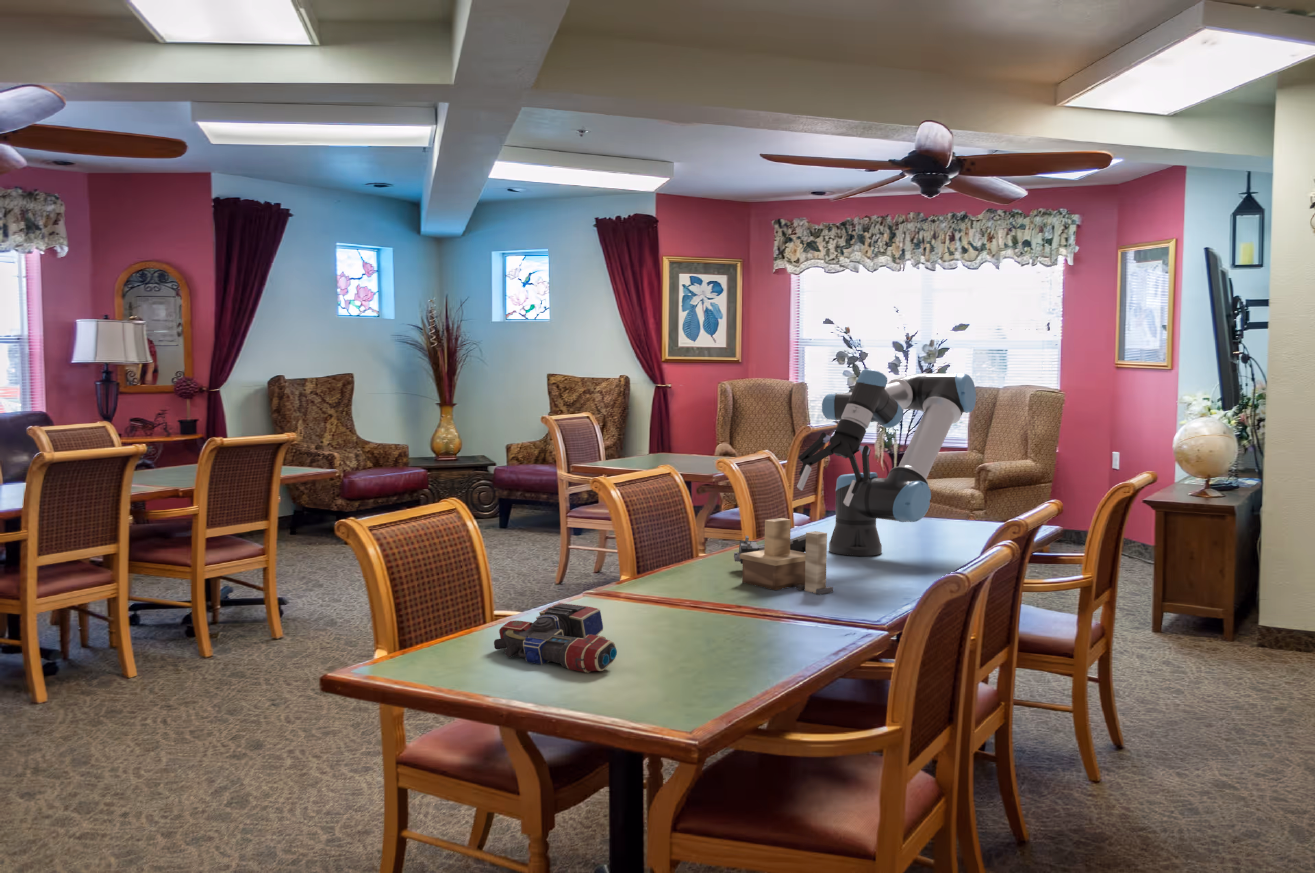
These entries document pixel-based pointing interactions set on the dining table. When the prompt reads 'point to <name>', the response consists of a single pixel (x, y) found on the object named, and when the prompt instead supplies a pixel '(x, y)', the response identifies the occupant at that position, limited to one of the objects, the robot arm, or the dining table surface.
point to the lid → (776, 545)
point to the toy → (752, 546)
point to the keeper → (818, 591)
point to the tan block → (815, 561)
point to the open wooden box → (773, 574)
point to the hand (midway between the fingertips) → (822, 496)
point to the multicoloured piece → (560, 638)
